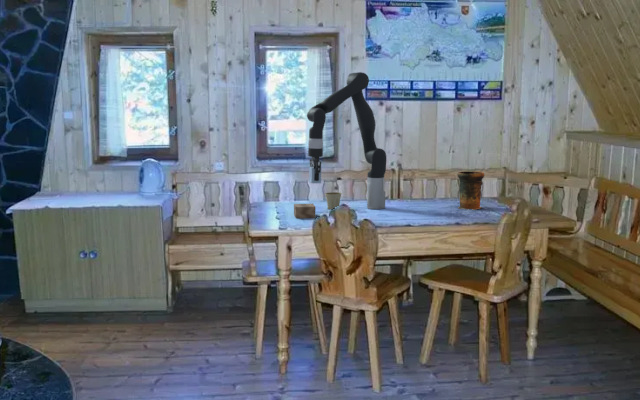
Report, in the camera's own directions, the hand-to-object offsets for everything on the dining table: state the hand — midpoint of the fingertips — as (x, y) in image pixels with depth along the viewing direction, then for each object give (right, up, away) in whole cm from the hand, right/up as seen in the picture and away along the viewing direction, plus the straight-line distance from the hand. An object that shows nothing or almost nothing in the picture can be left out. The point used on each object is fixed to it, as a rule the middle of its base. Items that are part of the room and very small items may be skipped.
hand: (315, 180), depth 332 cm
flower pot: (+10, -15, +21) cm, 28 cm away
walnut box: (-5, -19, -1) cm, 20 cm away
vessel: (+86, -15, +23) cm, 90 cm away
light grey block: (0, -1, 0) cm, 1 cm away
